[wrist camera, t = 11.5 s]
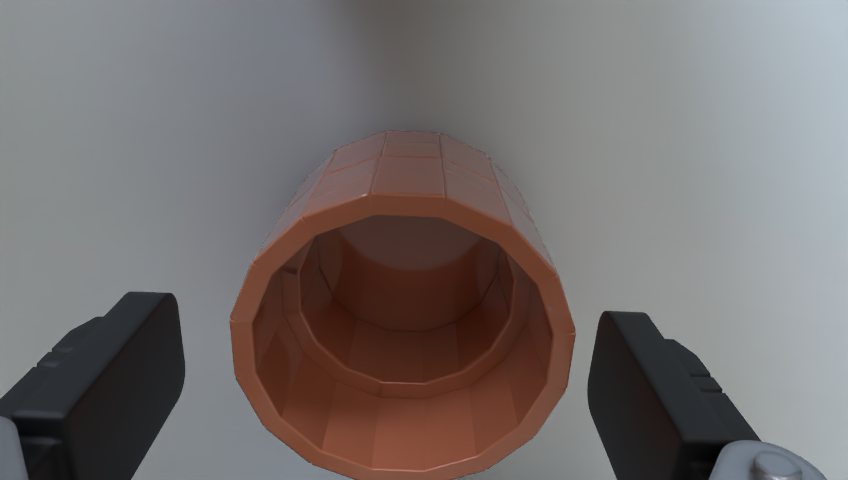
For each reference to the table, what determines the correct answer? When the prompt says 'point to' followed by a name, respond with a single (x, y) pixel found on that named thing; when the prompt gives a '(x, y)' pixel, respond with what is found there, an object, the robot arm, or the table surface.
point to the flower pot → (403, 314)
